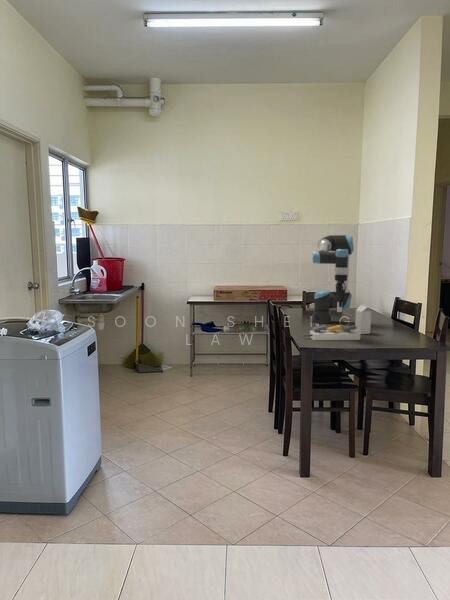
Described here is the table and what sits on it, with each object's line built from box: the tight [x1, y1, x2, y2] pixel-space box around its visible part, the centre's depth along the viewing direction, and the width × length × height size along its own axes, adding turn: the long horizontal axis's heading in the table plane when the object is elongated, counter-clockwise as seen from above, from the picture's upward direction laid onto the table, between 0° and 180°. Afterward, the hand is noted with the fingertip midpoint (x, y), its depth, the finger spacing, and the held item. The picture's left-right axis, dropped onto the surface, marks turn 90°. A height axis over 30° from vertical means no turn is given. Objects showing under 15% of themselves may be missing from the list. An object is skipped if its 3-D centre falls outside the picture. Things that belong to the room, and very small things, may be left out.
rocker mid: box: [326, 324, 342, 332], centre depth 273 cm, size 5×8×2 cm, turn 94°
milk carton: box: [354, 303, 372, 335], centre depth 287 cm, size 7×7×19 cm
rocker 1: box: [311, 324, 328, 332], centre depth 273 cm, size 5×8×2 cm, turn 94°
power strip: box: [303, 329, 361, 341], centre depth 272 cm, size 10×34×5 cm, turn 94°
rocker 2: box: [341, 324, 357, 332], centre depth 274 cm, size 5×8×2 cm, turn 94°
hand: (339, 311), depth 272 cm, fingers closed
